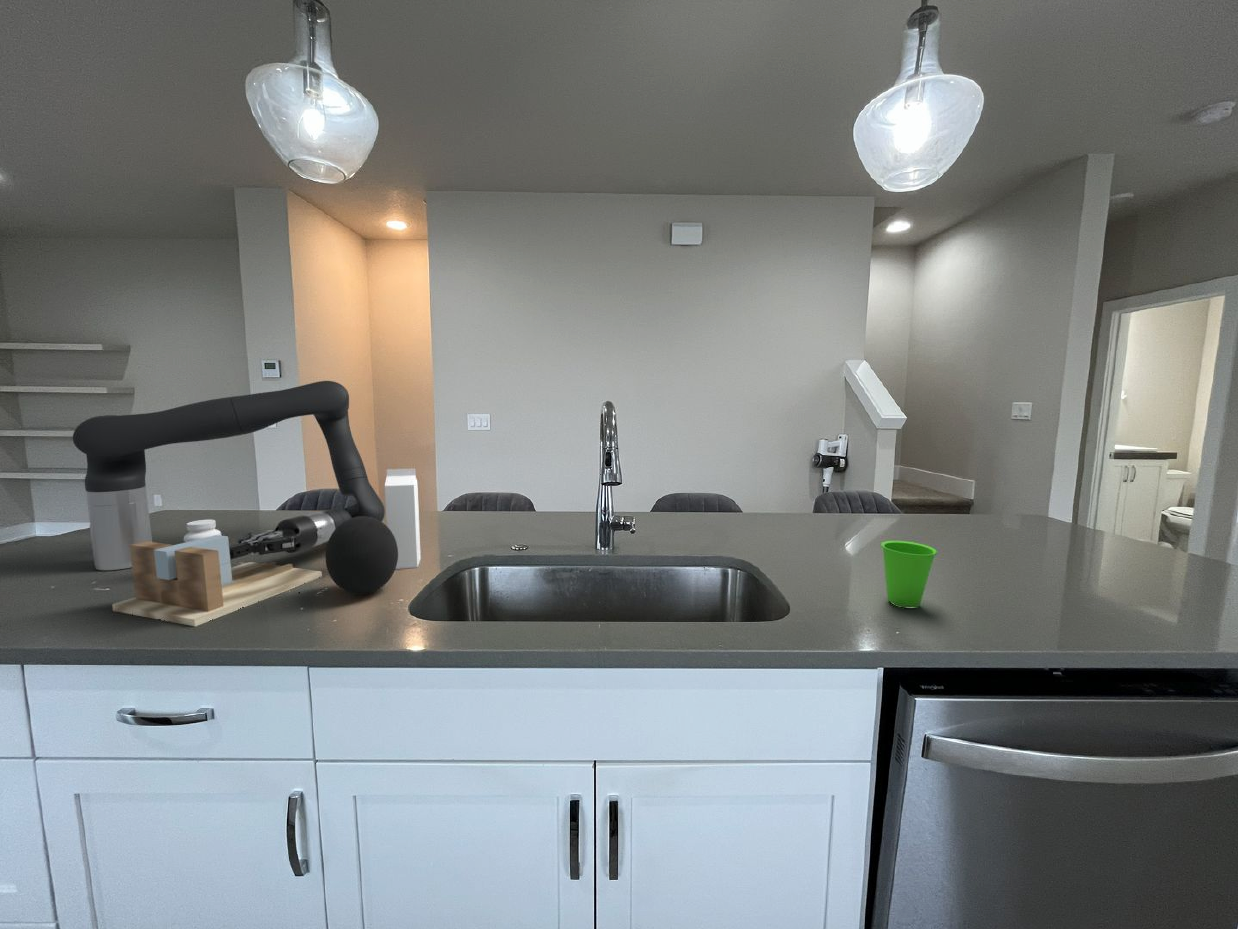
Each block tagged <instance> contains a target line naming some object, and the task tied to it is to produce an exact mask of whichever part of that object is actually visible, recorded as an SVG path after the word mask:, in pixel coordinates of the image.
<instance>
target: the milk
mask: <svg viewBox="0 0 1238 929" xmlns="http://www.w3.org/2000/svg"><path fill="white" fill-rule="evenodd" d="M416 474H417V473H416V469H415V468H396V469H395V468H392V469H391V468H388V469H386V478H385V482H384V500H385V502H384V503H385V519H386V520H385V521H386V526H387V527H388V528H389V529H390V530H391V532H392V533H393V535H394V537H395V540H396V543H397V547H398V561H397V565H396V569H395V570H401V569H415V568H418V567H419V564H420V562H421V560H422V559H421V539H420V538H421V537H420V536H421V535H420V515H419V514H420V512H419V508H420V507H419V490H418V488H419V487H418V485H419V484H418V479H417V476H416Z"/></svg>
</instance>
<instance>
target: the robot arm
mask: <svg viewBox="0 0 1238 929" xmlns="http://www.w3.org/2000/svg"><path fill="white" fill-rule="evenodd" d="M349 408H350V395H349V392H348V389H347V388H346V387H345V386H344V385H343V384H341V383H339V382H336V381H334V380H321V381H320V380H319V381H315V382H311V383H308V384H307V383H306V384H303V385H298V386H295V387H291V388H286V389H281V390H280V389H279V390H274V391H264V392H257V393H251V394H244V395H234V396H228V397H227V396H225V397H221V398H220V397H219V398H214V399H208V400H203V401H199V402H194V403H193V402H192V403H189V404H185V405H180V406H177V407H173V408H170V409H165V410H161V411H156V412H155V411H154V412H149V413H148V412H146V413H137V414H125V415H114V414H111V415H109V414H107V415H106V414H105V415H98V416H97V415H96V416H92V417H89V418H87V419H86V420H84V421H81V423H79V424H78V425H77V426H76V428H75V430H74V431H73V433H72V442H73V444H74V446H75V447H76V449H78V450H79V451H80V452H81V453H83V454H85V455H86V464H87V469H86V474H85V477H84V489H85V495H86V502H87V503H86V505H87V511H88V519H89V532H90V540H91V548H92V556H93V563H94V567H95V570H98V571H116V570H123V569H130V568H132V562H131V554H130V546H129V545H131V544H136V543H140V542H145V541H148V542H153V538H152V528H151V522H150V521H151V520H150V510H149V504H148V495H147V487H146V473H147V462H146V450H149V449H153V448H157V447H161V446H166V445H172V444H182V443H183V444H184V443H192V442H193V443H194V442H203V441H204V442H205V441H211V440H219V439H226V438H233V437H237V436H243V435H248V434H252V433H254V432H258V431H260V430H261V431H262V430H263V429H266V428H268V427H271V426H273V425H275V424H278V423H280V422H283V421H286V420H289V419H293V418H297V417H305V416H311V415H312V416H314V418H315V420H316V422H317V424H318V425H319V427H320V430H321V432H322V434H323V437H324V440H325V442H326V444H327V448H328V451H329V456H330V461H331V466H332V469H333V472H334V473H333V474H334V477H335V479H336V480H335V481H336V483H337V486H338V489H339V491H340V494H341V495H343V496H344V497H354V499H355V501H356V502H357V503H355V504H353V505H350V506H347V507H344V508H333V509H328V510H324V511H319V512H310V513H307V514H303V515H299V516H294V517H290V518H285V519H283V520H281V521H279V523H277V526H276V527H275V529H270V530H265V531H263V533H259V534H254V533H253V532H249V533H246V534H245V535H243V536H242V537H240V538H239V539H238V540H237V543H236V544H234V545H233V544H232V545H229V552H230V560H233V559H238V558H239V557H240V558H241V557H244V556H246V555H248V556H249V555H251V556H254V555H257V554H258V555H260V556H264V555H269V554H275V553H281V552H282V553H283V552H285V553H289V554H294V553H295V554H296V553H298V552H301V551H304V550H307V549H311V548H313V547H317V546H320V545H323V544H324V543H326V542H327V543H328V541H329V538H330V536H331V535H332V533H333V532H334V530H335V529H336V528H337V527H338V526H339V525H340V524H342V523H343V522H345V521H346V520H349V519H351V518H354V517H359V516H366V517H372V518H375V519H377V520H379V521H381V522H383V521H384V519H385V516H386V508H385V506H384V503H383V502H382V500H381V498H380V497H379V495H378V494H377V492H376V491H375V489H374V488H373V487H372V484H370V481H369V478H368V475H367V470H366V468H365V464H364V462H363V458H362V457H361V454H360V452H359V450H358V447H357V445H356V443H355V440H354V438H353V434H352V431H351V427H350V418H349Z"/></svg>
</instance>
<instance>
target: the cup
mask: <svg viewBox="0 0 1238 929" xmlns="http://www.w3.org/2000/svg"><path fill="white" fill-rule="evenodd" d="M880 547H881V548H882V553H883V563H884V564H883V566H884V574H885V583H886V595H887V600H888V602H889V601H890V602H892V603H894V604H895V605H898V606H901V607H918V608H919V606H921V603H922V600H923V596H924V592H925V589H926V586H927V585H926V584H927V582H928V579H929V576H930V573H931V572H930V571H931V568H932V565H933V561H934V558H935V556H937V554H938V551H937V550H936V549H935V548H934V547H931V546H929V545H926V544H922V543H916V542H912V541H904V540H886V541H883V542H881V544H880Z"/></svg>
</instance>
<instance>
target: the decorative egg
mask: <svg viewBox="0 0 1238 929" xmlns="http://www.w3.org/2000/svg"><path fill="white" fill-rule="evenodd" d="M324 559H325V566H326V569H327V572H328V575H329V577H330V579H331V580H332V581H333V582H334V583H335V585H336V586H337V587H339V589H341V590H343V591H345V592H347V593H350V594H353V595H368V594H372V593H374V592H376V591H378V590H380V589H382V588H383V587H384V586H385V585H386V584H388V582H389V581H390V579H391V578H392V577H393V575H394V573H395V570H397V569H396V565H397V561H398V547H397V543H396V540H395V537H394V535H393V533H392V532H391V530H390V529H389V528H388V527H387V524H385V523H384V522H383V521H382V522H381V521H379V520H377V519H375V518H372V517H366V516H359V517H354V518H351V519H349V520H346V521H345V522H343V523H342V524H340V525H339V526H338V527H337V528H336V529H335V530H334V532H333V533H332V535H331V536H330V538H329V541H327V544H326V548H325V554H324Z"/></svg>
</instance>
